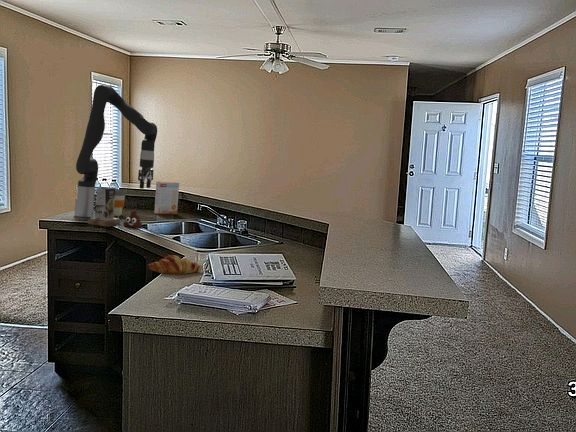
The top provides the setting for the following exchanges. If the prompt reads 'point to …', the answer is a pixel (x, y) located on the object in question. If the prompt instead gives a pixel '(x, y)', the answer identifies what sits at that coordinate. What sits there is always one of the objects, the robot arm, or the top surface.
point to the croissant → (175, 265)
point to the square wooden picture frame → (104, 221)
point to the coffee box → (105, 203)
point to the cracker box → (166, 197)
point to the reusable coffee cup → (119, 201)
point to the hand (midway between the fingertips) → (145, 188)
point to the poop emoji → (133, 220)
